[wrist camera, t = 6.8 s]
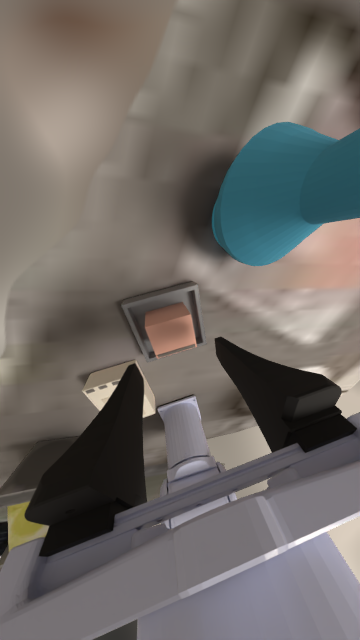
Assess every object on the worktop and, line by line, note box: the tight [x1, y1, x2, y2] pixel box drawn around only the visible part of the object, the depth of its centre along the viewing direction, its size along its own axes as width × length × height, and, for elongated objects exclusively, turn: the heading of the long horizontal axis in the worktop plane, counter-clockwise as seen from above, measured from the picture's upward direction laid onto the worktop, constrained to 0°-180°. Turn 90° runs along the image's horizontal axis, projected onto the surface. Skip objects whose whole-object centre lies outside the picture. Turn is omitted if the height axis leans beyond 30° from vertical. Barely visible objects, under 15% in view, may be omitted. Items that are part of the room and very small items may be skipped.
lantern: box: [0, 436, 80, 571], centre depth 28 cm, size 8×17×30 cm
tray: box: [121, 281, 207, 362], centre depth 19 cm, size 9×9×2 cm
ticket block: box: [82, 360, 155, 418], centre depth 22 cm, size 10×7×3 cm
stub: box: [145, 302, 197, 359], centre depth 17 cm, size 4×5×4 cm
